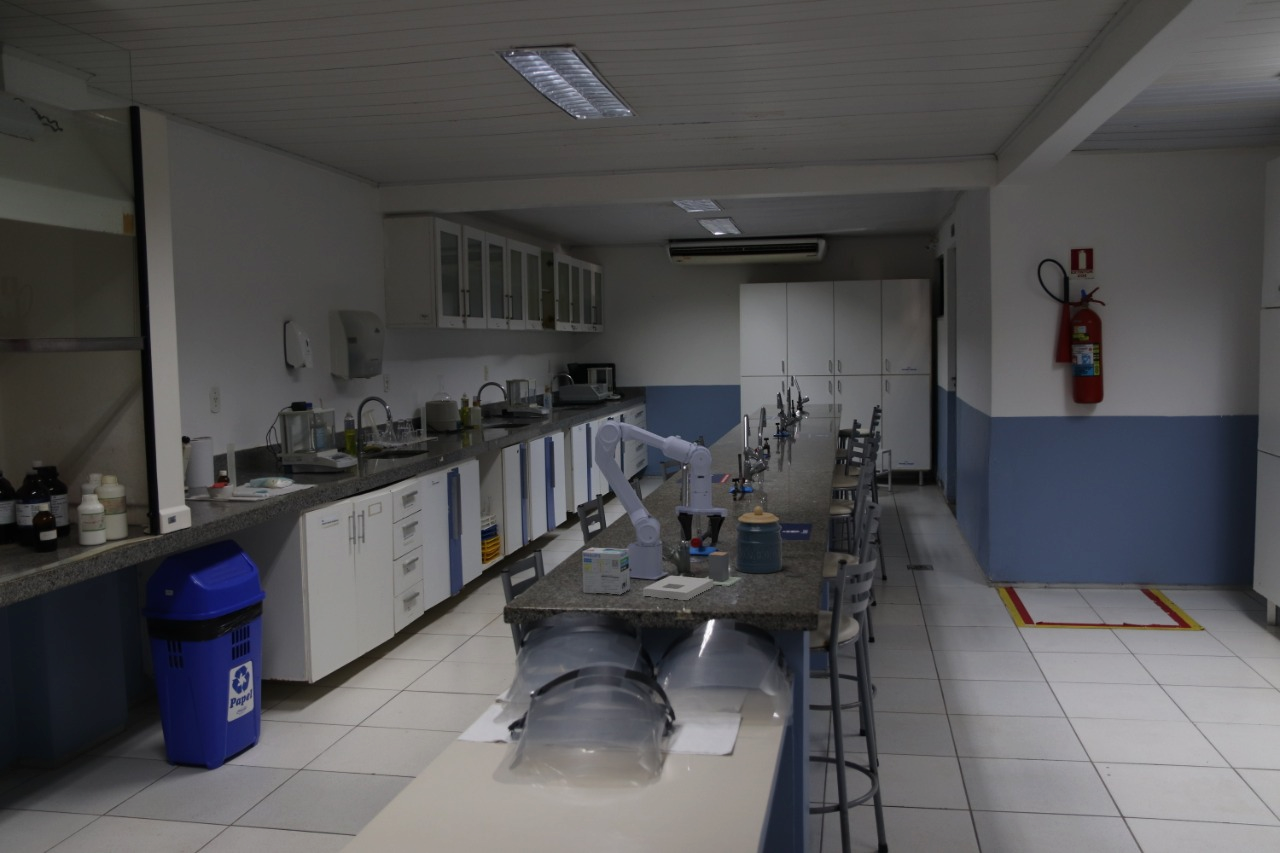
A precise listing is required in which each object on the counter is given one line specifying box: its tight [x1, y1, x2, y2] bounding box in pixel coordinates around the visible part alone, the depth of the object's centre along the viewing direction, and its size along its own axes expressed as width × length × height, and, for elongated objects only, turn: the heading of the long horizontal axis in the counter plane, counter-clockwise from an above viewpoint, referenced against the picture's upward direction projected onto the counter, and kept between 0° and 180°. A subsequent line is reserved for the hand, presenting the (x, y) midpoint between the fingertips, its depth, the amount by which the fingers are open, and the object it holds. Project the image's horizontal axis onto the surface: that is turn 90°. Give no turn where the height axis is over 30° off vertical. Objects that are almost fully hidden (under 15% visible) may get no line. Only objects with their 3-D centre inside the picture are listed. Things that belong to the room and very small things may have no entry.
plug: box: [708, 551, 730, 582], centre depth 265 cm, size 4×4×7 cm
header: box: [642, 575, 714, 601], centre depth 255 cm, size 12×16×2 cm
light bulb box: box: [581, 546, 631, 595], centre depth 257 cm, size 11×7×11 cm, turn 71°
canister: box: [734, 505, 783, 574], centre depth 280 cm, size 13×13×18 cm
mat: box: [703, 575, 743, 587], centre depth 266 cm, size 9×9×1 cm
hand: (701, 541), depth 272 cm, fingers open, 7 cm apart
